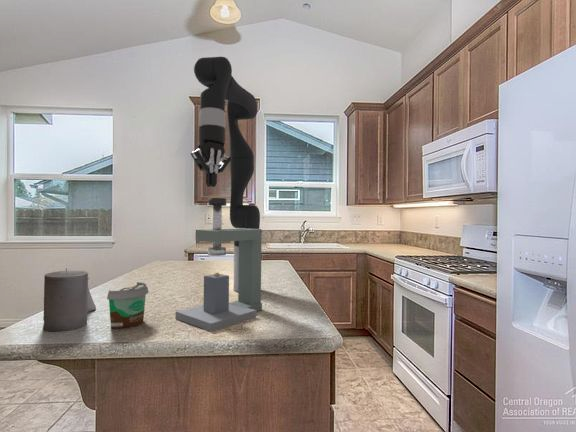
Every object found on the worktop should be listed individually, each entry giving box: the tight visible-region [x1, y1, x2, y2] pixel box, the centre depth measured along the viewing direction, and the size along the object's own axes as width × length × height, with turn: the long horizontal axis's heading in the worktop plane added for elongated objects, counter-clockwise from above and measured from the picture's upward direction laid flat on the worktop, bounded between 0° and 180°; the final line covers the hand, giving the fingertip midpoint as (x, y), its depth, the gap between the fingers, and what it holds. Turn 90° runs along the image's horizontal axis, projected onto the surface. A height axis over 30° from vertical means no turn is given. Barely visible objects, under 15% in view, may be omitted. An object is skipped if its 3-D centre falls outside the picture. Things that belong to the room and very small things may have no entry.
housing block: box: [203, 272, 230, 314], centre depth 96 cm, size 5×5×11 cm
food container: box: [106, 281, 149, 330], centre depth 90 cm, size 12×6×10 cm, turn 168°
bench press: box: [175, 228, 263, 332], centre depth 99 cm, size 23×16×25 cm
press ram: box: [207, 197, 227, 257], centre depth 96 cm, size 5×5×16 cm
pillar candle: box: [42, 268, 89, 332], centre depth 88 cm, size 10×10×15 cm
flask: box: [87, 276, 97, 313], centre depth 102 cm, size 7×7×10 cm
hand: (211, 186), depth 97 cm, fingers closed
